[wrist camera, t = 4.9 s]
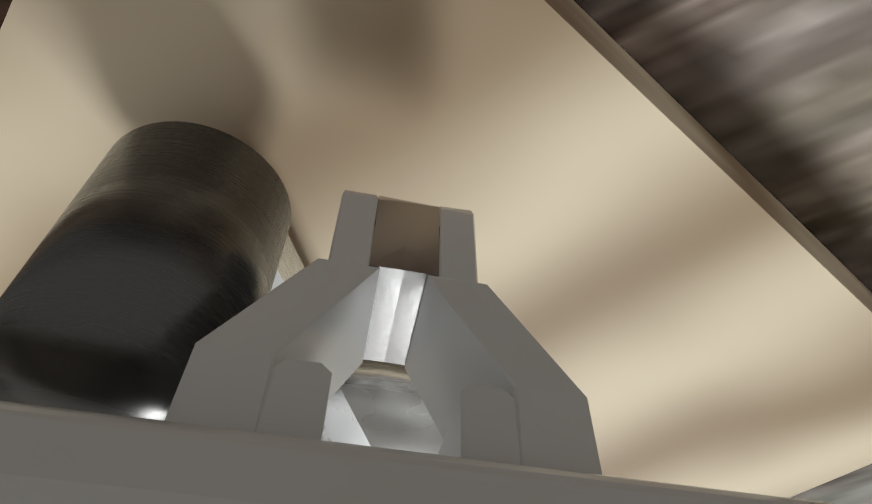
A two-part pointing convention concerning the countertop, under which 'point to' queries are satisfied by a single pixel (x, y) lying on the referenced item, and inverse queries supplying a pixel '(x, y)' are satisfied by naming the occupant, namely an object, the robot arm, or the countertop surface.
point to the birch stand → (490, 200)
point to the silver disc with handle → (171, 287)
